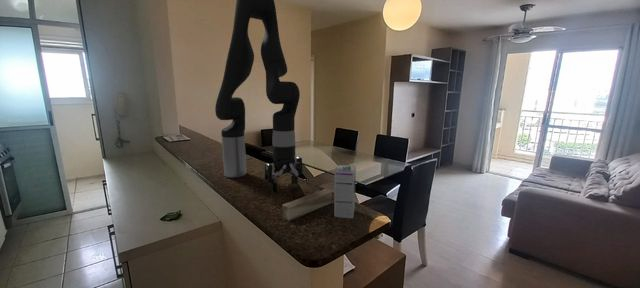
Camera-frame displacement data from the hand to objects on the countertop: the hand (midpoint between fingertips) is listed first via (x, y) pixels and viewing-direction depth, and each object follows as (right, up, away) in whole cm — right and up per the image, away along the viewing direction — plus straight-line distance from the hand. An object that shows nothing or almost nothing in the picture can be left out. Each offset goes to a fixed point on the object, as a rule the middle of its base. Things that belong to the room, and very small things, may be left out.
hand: (284, 189), depth 91 cm
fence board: (+9, -5, -8) cm, 13 cm away
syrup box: (+20, -6, -10) cm, 23 cm away
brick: (+4, -4, -3) cm, 6 cm away
